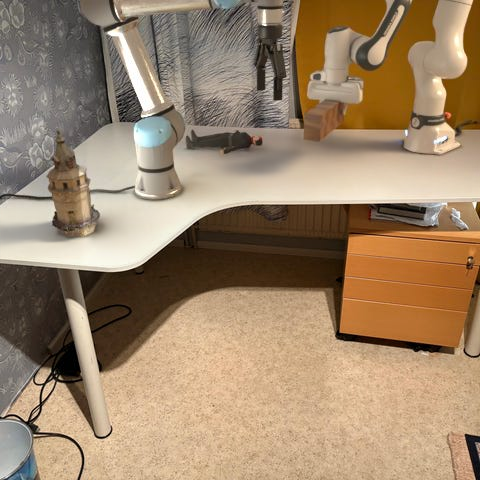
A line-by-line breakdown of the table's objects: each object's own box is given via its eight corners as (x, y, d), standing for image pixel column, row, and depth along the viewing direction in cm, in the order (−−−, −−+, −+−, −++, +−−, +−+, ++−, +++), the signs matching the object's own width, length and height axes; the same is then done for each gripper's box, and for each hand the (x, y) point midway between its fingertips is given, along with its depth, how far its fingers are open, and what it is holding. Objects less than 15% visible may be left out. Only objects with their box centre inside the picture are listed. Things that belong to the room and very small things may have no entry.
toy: (197, 123, 225) (267, 123, 219) (198, 137, 228) (268, 138, 222) (178, 143, 203) (256, 144, 197) (180, 159, 206) (257, 160, 200)
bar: (319, 142, 183) (320, 115, 178) (303, 139, 185) (304, 113, 181) (343, 121, 202) (345, 97, 197) (328, 119, 204) (330, 96, 200)
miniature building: (80, 214, 164) (63, 117, 149) (111, 225, 157) (96, 125, 142) (44, 231, 154) (22, 130, 140) (75, 244, 147) (55, 139, 133)
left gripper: (299, 28, 151) (296, 103, 161) (265, 18, 171) (264, 85, 182) (275, 30, 149) (273, 106, 159) (243, 19, 169) (244, 87, 180)
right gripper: (366, 75, 190) (363, 114, 196) (312, 70, 198) (311, 107, 205) (361, 79, 185) (358, 118, 192) (306, 74, 193) (304, 112, 200)
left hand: (269, 95), depth 171 cm, fingers open, 13 cm apart
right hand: (333, 113), depth 198 cm, fingers closed on bar, 6 cm apart
